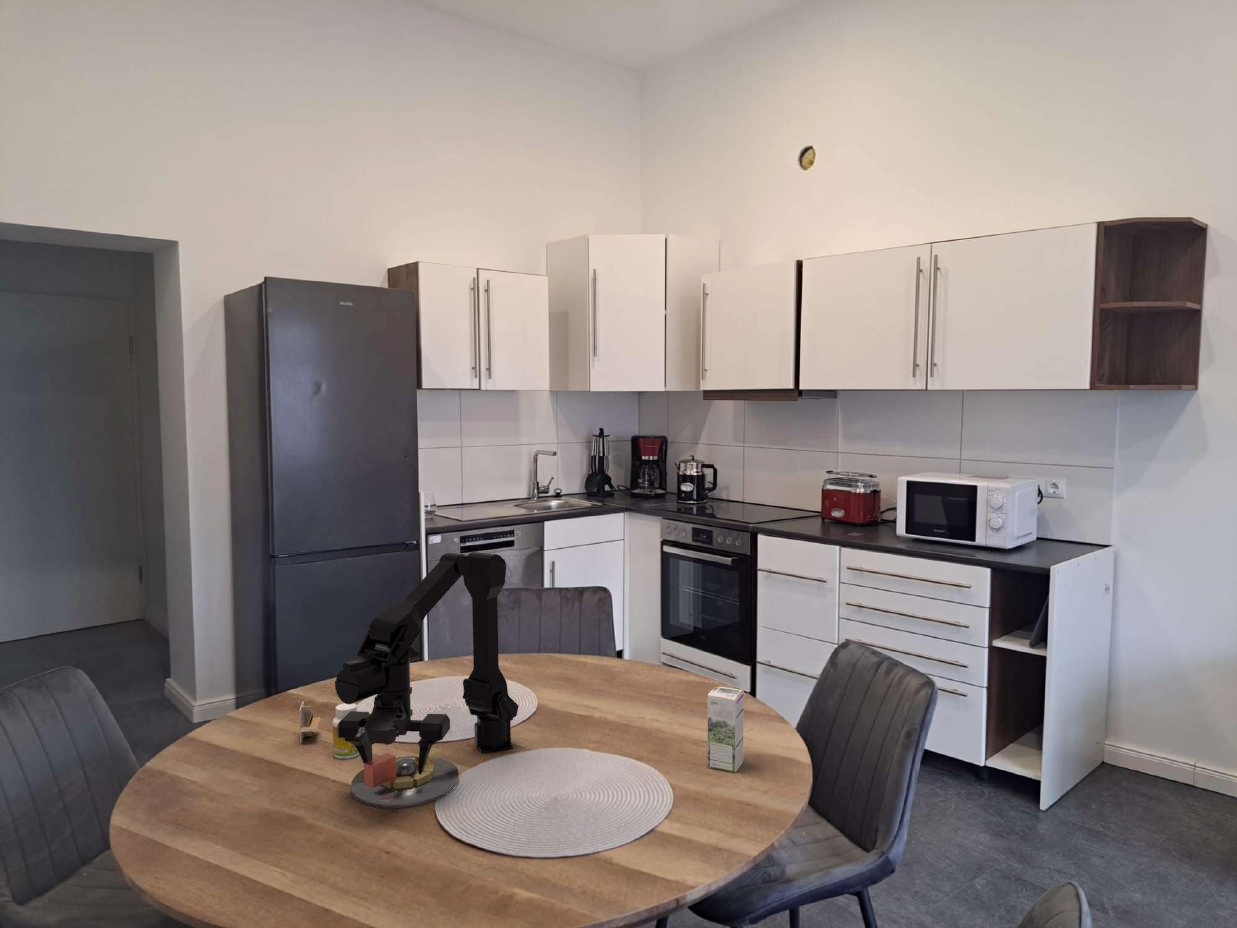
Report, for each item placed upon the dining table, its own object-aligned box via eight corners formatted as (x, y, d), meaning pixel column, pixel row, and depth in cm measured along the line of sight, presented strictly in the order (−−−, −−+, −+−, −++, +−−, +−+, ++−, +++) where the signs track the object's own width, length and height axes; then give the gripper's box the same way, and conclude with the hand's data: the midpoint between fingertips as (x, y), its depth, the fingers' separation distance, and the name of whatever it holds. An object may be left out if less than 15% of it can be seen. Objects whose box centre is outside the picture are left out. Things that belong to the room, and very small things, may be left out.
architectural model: (320, 733, 180) (319, 699, 180) (317, 746, 173) (316, 711, 173) (303, 735, 179) (302, 700, 179) (299, 748, 173) (298, 712, 172)
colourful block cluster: (372, 763, 160) (371, 737, 160) (442, 758, 162) (441, 732, 162) (363, 795, 147) (362, 766, 147) (439, 789, 150) (439, 761, 149)
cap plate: (448, 755, 167) (448, 735, 167) (467, 796, 150) (467, 774, 149) (347, 771, 160) (347, 750, 160) (355, 816, 143) (355, 793, 143)
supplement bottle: (353, 760, 165) (351, 711, 165) (327, 758, 166) (326, 710, 166) (366, 749, 171) (365, 702, 170) (342, 747, 172) (340, 700, 171)
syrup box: (744, 761, 164) (744, 688, 163) (735, 773, 158) (735, 698, 157) (716, 756, 166) (716, 684, 165) (706, 768, 161) (706, 693, 160)
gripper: (322, 701, 142) (324, 791, 143) (432, 704, 140) (433, 795, 141) (348, 679, 153) (350, 763, 154) (450, 682, 151) (451, 766, 153)
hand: (395, 772), depth 150 cm, fingers open, 9 cm apart
